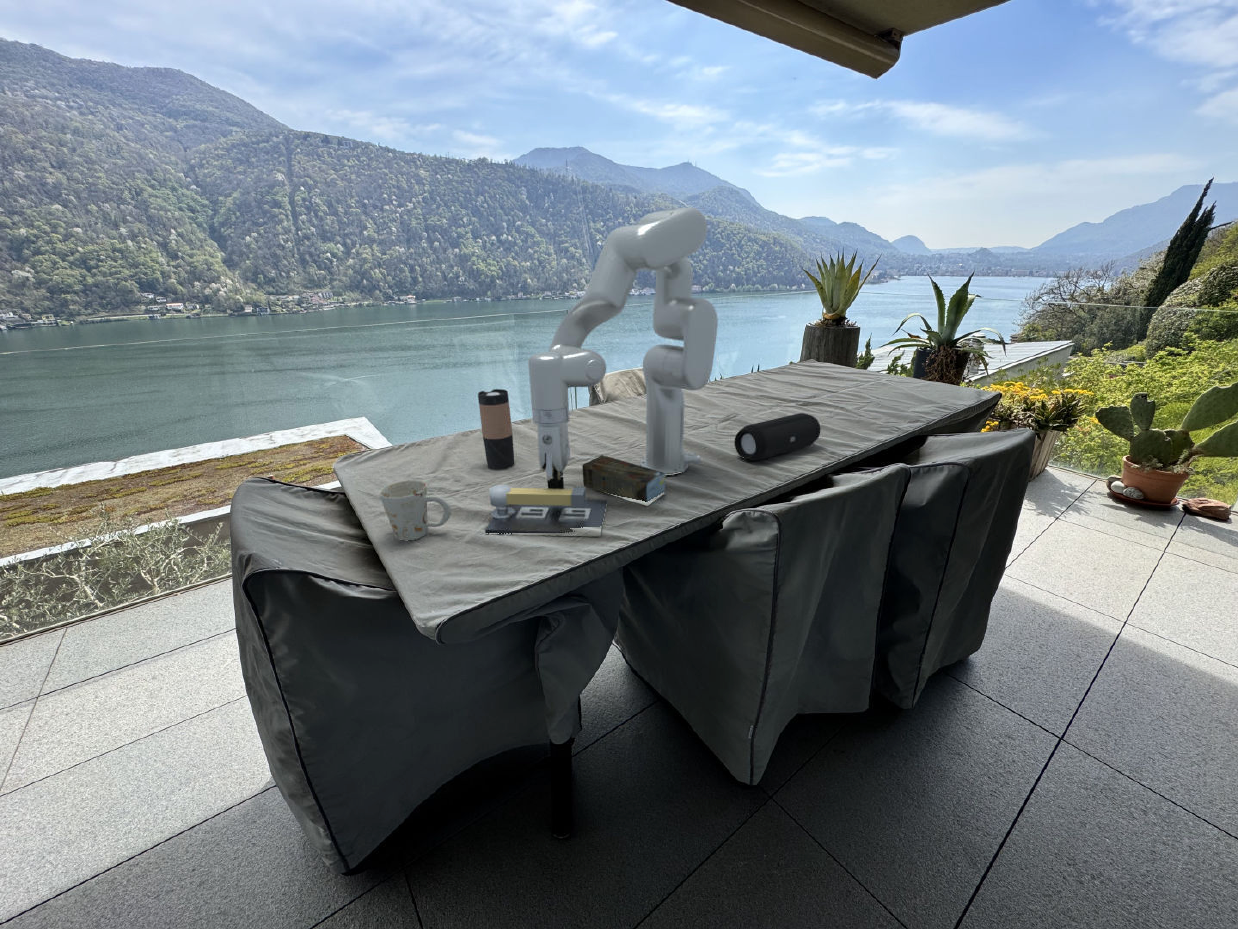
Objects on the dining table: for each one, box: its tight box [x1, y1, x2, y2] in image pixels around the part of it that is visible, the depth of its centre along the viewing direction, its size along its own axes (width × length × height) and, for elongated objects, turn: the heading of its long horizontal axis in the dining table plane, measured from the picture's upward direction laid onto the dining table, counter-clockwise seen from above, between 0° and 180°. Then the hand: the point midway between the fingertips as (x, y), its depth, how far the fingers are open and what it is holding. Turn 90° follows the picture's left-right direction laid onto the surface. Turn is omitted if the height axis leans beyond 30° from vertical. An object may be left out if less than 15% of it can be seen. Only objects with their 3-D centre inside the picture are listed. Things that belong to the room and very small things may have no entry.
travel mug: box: [477, 388, 515, 471], centre depth 126 cm, size 8×8×20 cm
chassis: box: [484, 499, 608, 535], centre depth 100 cm, size 24×14×4 cm, turn 86°
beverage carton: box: [581, 454, 666, 502], centre depth 112 cm, size 8×19×7 cm, turn 53°
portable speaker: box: [734, 412, 822, 461], centre depth 133 cm, size 26×10×10 cm, turn 121°
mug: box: [378, 479, 452, 541], centre depth 94 cm, size 8×13×10 cm, turn 95°
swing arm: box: [488, 484, 587, 508], centre depth 99 cm, size 20×4×3 cm, turn 86°
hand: (556, 494), depth 105 cm, fingers closed
